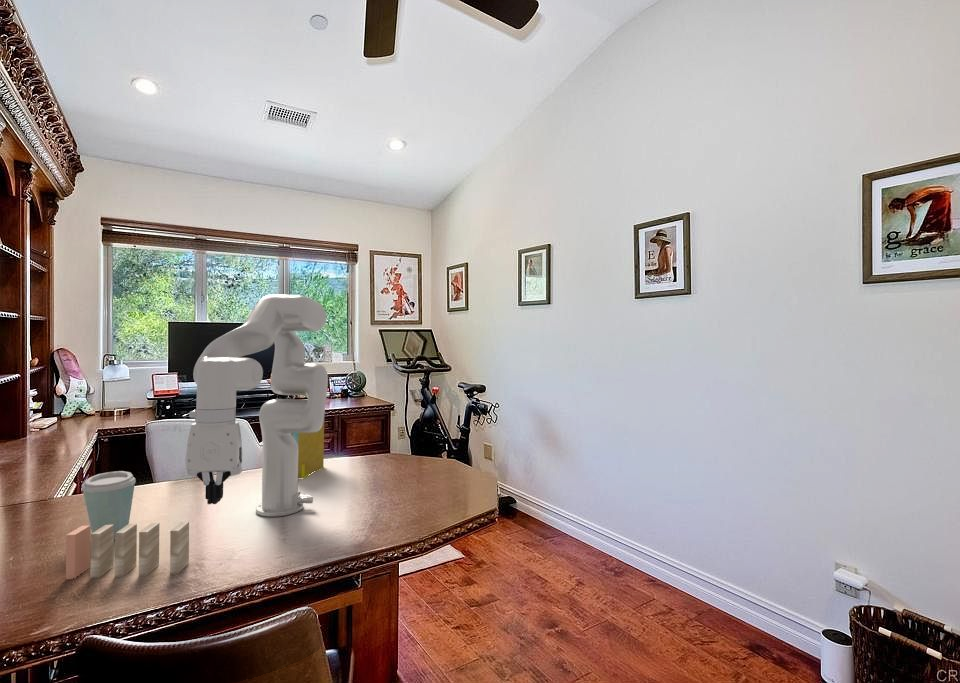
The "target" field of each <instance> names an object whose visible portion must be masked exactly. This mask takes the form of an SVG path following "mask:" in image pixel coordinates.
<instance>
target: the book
mask: <svg viewBox="0 0 960 683" xmlns="http://www.w3.org/2000/svg"><path fill="white" fill-rule="evenodd" d="M291 435H292V436H293V437H294V439H295V440H296V442H297V445H298V478H304V479H306V478H308V477H309V476H310V475H309V474H311V473H312V472H314V471H317V470H319V469H321V468H323V469H324V460H325V458H324V457H325V456H324V455H325V454H324V453H325V450H324V448H325V420H324V421H323V425H322V427H321V429H320V430H319V431H318V432H315V433H291ZM321 470H322V469H321ZM319 471H320V470H319ZM317 472H318V471H317ZM308 475H309V476H308ZM311 475H312V474H311ZM307 476H308V477H307ZM305 477H306V478H305Z"/></svg>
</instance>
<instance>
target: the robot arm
mask: <svg viewBox="0 0 960 683" xmlns="http://www.w3.org/2000/svg"><path fill="white" fill-rule="evenodd" d="M326 319H327V314H326V310H325V308H324V306H323V305H322V304H321V303H320V302H318V301H316V300H314V299H312V298H310V297H307V296H304V295H300V294H268V295H265V296H263V297H261V298H260V299H259V300H258V301H257V303H256V304H255V305H254V307H253V309H252V310H251V312H250V313H249V315H248V316H247V317H246V320H245V321H244V322H243V323H242V325H241V326H238V327H237V328H234V329H233V330H230V331H228V332H226V333H225V334H223V335H221V336H219V337H217V338H215V339H214V340H213V341H211V342H210V343H209V344H208V345H207V346H206V347H205V348H204V350H203V352H202V353H201V354H200V356H199V357H198V359H197V361H196V363H195V365H194V367H193V371H192V372H193V373H192V375H193V381H194V383H195V384H196V402H195V403H196V404H195V405H196V406H195V407H196V408H195V409H194V410H190V411H189V414H188V416H189V418H193V419H194V421H195V422H194V423H191V424H190V429H189V432H188V438H187V444H186V449H185V450H186V451H185V469H186V470H187V471H186V474H187V476H191V477H195V478H196V477H197V478H198V479H199V480H200V481H201V482H202V483H203V485H204V486H205V494H204V495H205V499H206V500H207V501H206V502H207V505H216V504H218V503H219V502H220V501H221V500H222V498H223V497H224V482H225V481H226V480H227V479H228V478H230V477H233V476H237V475H240V474H242V472H243V468H242V463H243V462H242V461H243V441H242V434H241V428H240V423H239V421H237V419H236V415H237V412H236V411H237V391H250V390H252V389H255V388H256V387H257V386H259V385H260V384H261V382H262V380H263V378H264V377H263V376H264V375H263V374H264V369H263V366H262V364H261V363H260V362H259V361H257V360H256V359H254V358H251V357H245V356H249V355H252V354H256V353H259V352H261V351H264V350H267V349H269V348H271V347H272V346H273V345H274V354H273V362H272V366H271V367H272V368H271V375H270V388H271V391H272V392H273V393H274V394H277V395H282V396H306V397H307V399H294V398H275V399H270V400H267V401H266V402H264V403H263V404H262V405H261V407H260V410H259V413H258V415H259V416H258V417H259V418H258V419H259V424H260V430H261V436H262V437H261V438H262V440H261V442H262V463H261V464H262V466H261V467H262V471H261V472H262V475H261V476H262V477H261V482H262V483H261V503H260V504H258V505H256V507H255V513H256V514H257V515H259V516H262V517H268V518H271V517H272V518H273V517H274V518H275V517H283V516H289V515H293V514H296V513H298V512H300V511H301V510H302V509H303V508H304V504H313V503H314V496H312V495H311V494H305V495H304V494H301V490H300V489H299V479H298V445H297V442H296V440H295V439H294V437H293V436H292V435H291V433H315V432H318V431H319V430H320V429H321V427H322V425H323V421H324V422H325V415H326V414H325V413H326V404H327V394H328V386H329V385H328V384H329V377H328V376H329V375H328V371H327V369H326V367H325V366H324V365H323V364H321V363H316V362H312V363H311V362H305V359H306V358H305V357H306V346H305V343H304V342H303V341H302V339H301V338H300V337H299V336H298V335H297V333H296V332H318V331H320V330H323V328H324V326H325V324H326V321H327V320H326ZM215 472H216V475H214V473H215Z"/></svg>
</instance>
